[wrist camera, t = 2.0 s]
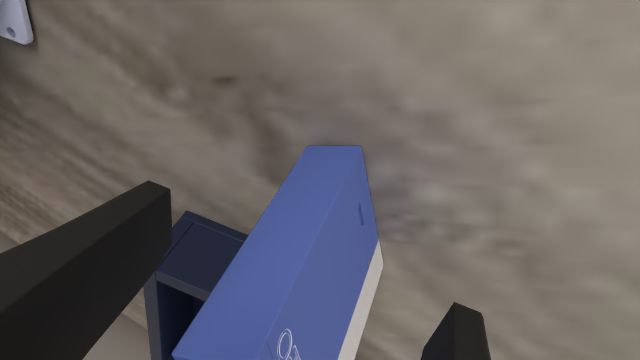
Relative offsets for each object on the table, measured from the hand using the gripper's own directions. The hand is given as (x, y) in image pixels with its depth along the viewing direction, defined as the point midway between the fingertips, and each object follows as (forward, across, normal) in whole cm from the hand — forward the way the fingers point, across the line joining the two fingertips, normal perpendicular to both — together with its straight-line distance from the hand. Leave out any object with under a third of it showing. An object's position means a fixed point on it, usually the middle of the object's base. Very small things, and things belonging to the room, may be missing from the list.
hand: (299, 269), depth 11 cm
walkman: (+11, 0, +7) cm, 13 cm away
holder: (+10, +6, +18) cm, 22 cm away
